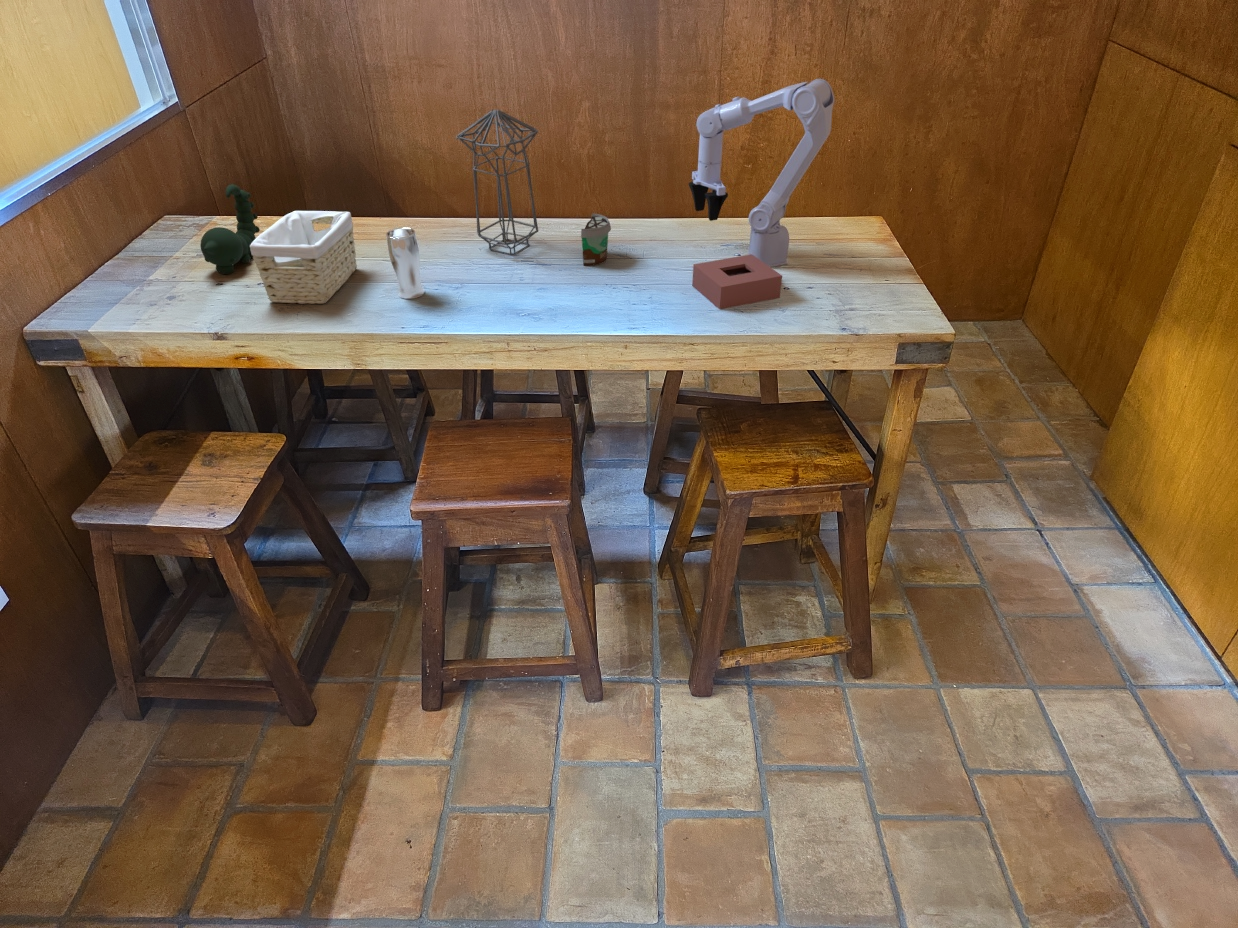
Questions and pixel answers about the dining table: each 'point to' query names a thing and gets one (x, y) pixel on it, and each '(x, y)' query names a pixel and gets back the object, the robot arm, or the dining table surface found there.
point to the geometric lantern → (487, 123)
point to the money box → (736, 281)
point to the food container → (595, 240)
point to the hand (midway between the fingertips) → (706, 215)
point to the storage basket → (305, 256)
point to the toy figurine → (231, 236)
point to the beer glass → (405, 261)
